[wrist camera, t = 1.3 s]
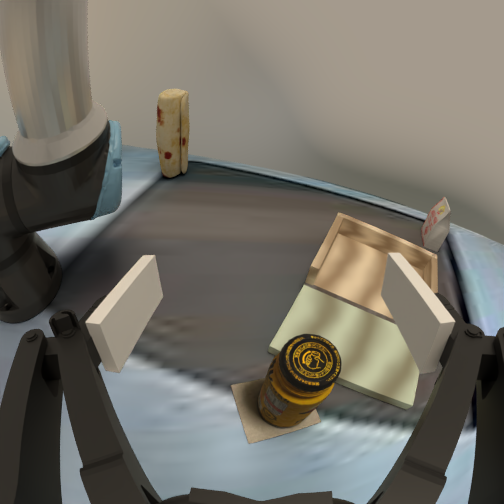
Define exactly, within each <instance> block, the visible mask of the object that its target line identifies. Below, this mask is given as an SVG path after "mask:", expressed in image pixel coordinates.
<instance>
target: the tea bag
mask: <svg viewBox="0 0 504 504" xmlns="http://www.w3.org/2000/svg"><path fill="white" fill-rule="evenodd" d="M450 214H451V211H450V208H449V206H448V203H447V200H446V198H445V197H443V199H442V200H441V201H440V202H439V203H438V204H436V205H435V206H434V207H433V208H431V210H430V212H429V214H428V216H427V218H426V220H425V222H424V224H423V226H422V228H421V232H422V239H423V246H424V247H426V248H429V249H431V250H434V251H436V252H438V250H439V248H440V247H441V245H442V243H443V241H444V240H445V238H446V236H447V234H448V232H449V227H450Z"/></svg>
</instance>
